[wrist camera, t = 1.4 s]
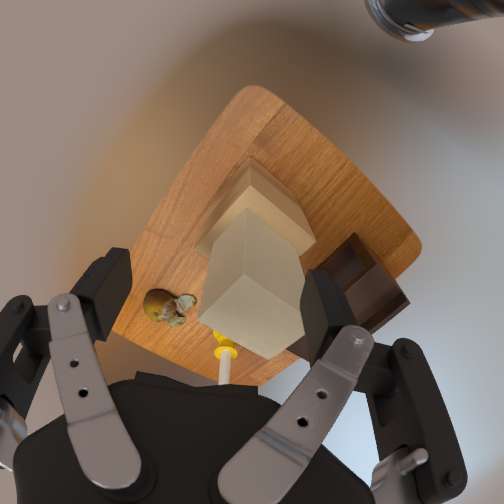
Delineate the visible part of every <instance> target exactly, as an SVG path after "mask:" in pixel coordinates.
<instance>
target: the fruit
mask: <svg viewBox="0 0 504 504" xmlns="http://www.w3.org/2000/svg"><path fill="white" fill-rule="evenodd" d="M195 303H196V301H195V299H194V297H193V296H191V295H182V296H181V297H179V298H178V299H174V298H172V296H171V295H170V294H169V293H168V292H166V291H163V290H162V289H154V290H150V291H149V292H147V294H146V296H145V298H144V302H143V306H144V311H145V313H146V314H147V316H148V317H149V318H150V319H151V320H153V321H154V322H161V321H167V320H168V322H169V324H168V326H170V327H177V326H180V325H182V324H183V323H184V322H185V321H186V319H185V318H184V317H178V316H177V313H176V312H177V311H179V312H180V313H182V312H185V311H186V310H188V309H189V308H190V307H191V306H195Z"/></svg>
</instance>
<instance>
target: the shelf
mask: <svg viewBox="0 0 504 504" xmlns="http://www.w3.org/2000/svg"><path fill="white" fill-rule="evenodd" d="M315 270H325V271H327V274H328V276H329V278H330V281H331V282H336V283H337V284H338V285H339V286H340V287H341V288H342V289H343V291H344V293H345V295H346V297H347V298H346V299H347V300H348V302H349V306H350V307H351V309H352V311H353V314H354V316H355V319H356V321H357V323H358V326H360V327H362V328H364V329H366V330H367V331H368V332H370V334H371V335H372V334H373V333H375V332H376V331H377V330H378V329H380V328H381V327H382V326H383V325H385V324H386V323H387V322H388V321H390V320H391V319H392V318H393V317H395V316H396V315H397V314H398V313H399V312H401V311H402V310H403V309H404V308H405V307H407V306H408V305H409V304H410V302H409V300H408V299H407V297H406V295H405V294H404V292H403V291H402V289H401V288H400V287H399V285H398V284H397V282H396V281H395V279H394V278H393V276H392V275H391V273H390V272H389V271H388V269H387V268H386V266H385V265H384V263H383V262H382V261H381V260H380V259H379V258H378V256H377V255H376V254H375V253H374V252H373V251H372V250H371V249H370V248H369V247H368V246H367V245H366V244H365V243H364V241H363V240H362V239H361V238H360V237H359V236H358V235H357V234H356V233H354V234H352V235H351V236H350V237H349V238H348V239H347V240H346V241H345V242H344V243H343V244H342V245H341V246H340V247H339V248H338V249H337V250H335V251H334V252H333V253H332V254H331V255H330V256H329V257H328V258H327V259H326V260H325V261H324V262H322V263H321V264H320V265H319V266H318V267H317V268H316V269H315ZM305 279H306V278H305ZM286 350H288V351H290V352H292V353H294V354H295V355H297V356H299V357H301V358H303V359H305V360H306V361H309V362H310V368H312V367H313V366H311V361H310V356H309V351H308V346H307V341H306V337H305V335H304V336H302V337H301V338H299V339H298V340H297V341H295V342H294V343H293V344H291V345H290V346H289V347H287V348H286Z"/></svg>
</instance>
